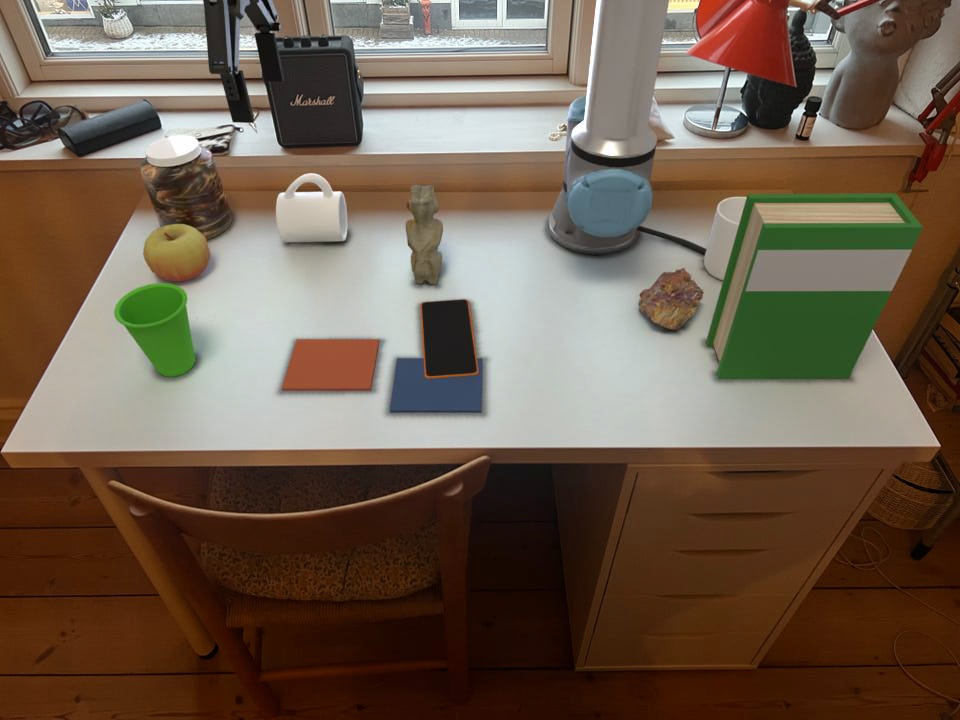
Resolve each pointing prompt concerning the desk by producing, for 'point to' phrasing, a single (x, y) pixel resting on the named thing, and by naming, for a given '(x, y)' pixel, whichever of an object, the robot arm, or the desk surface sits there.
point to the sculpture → (424, 234)
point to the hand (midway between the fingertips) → (259, 100)
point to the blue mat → (434, 390)
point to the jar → (185, 185)
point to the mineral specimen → (671, 299)
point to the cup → (159, 326)
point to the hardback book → (808, 283)
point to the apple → (176, 252)
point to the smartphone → (448, 339)
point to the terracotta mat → (331, 364)
